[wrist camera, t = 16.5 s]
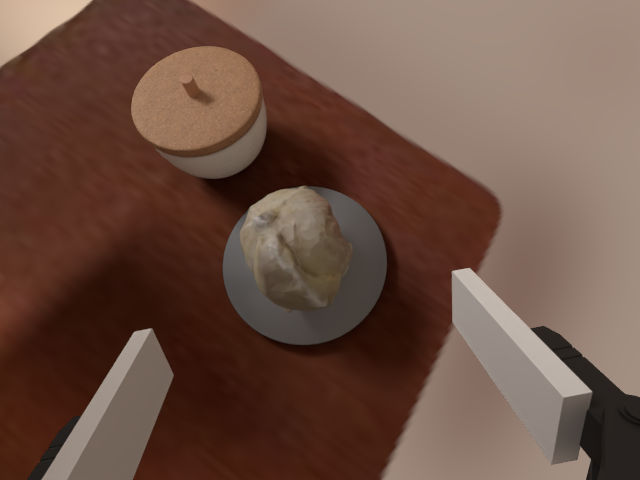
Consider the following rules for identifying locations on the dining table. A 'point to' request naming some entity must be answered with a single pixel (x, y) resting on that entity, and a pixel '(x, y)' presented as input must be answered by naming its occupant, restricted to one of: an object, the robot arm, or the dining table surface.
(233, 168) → the lidded jar
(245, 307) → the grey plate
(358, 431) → the dining table surface
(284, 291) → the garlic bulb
